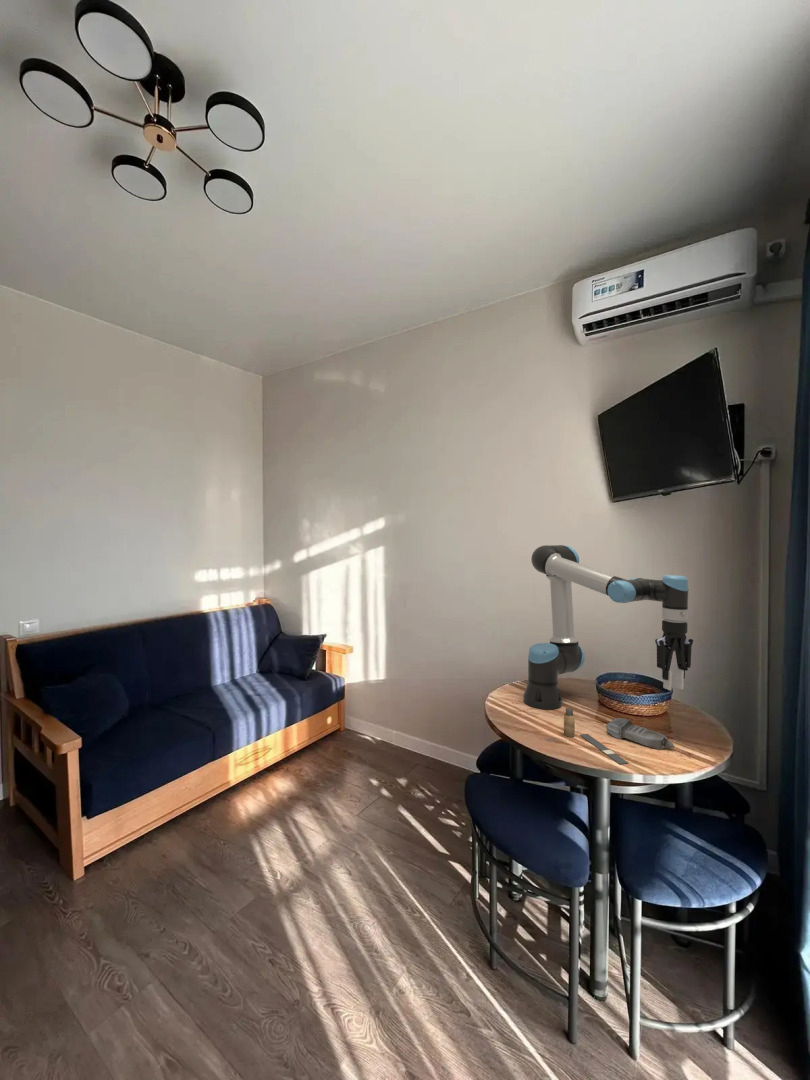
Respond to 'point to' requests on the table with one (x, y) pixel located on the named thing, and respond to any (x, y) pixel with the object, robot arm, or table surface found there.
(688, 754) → the table surface
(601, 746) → the strip
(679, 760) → the table surface
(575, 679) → the table surface
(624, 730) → the handheld device
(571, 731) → the tan bottle
